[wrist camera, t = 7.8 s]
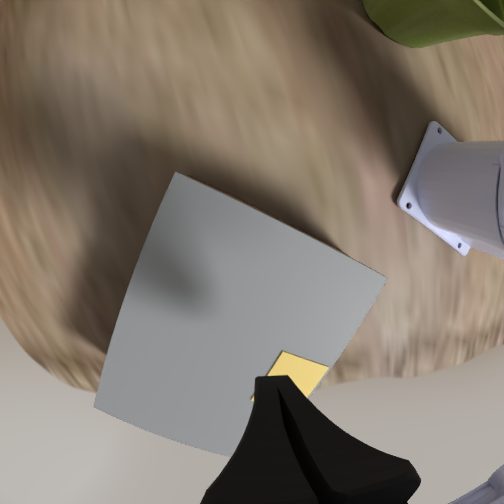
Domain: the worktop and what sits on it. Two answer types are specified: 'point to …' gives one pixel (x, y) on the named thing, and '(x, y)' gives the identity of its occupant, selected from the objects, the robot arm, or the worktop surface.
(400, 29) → the plant pot
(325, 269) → the lid
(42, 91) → the worktop surface
